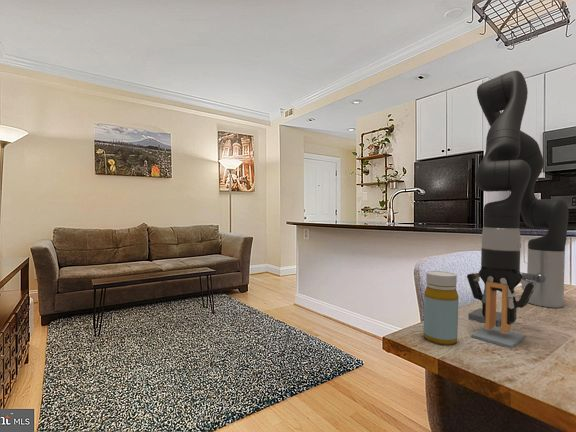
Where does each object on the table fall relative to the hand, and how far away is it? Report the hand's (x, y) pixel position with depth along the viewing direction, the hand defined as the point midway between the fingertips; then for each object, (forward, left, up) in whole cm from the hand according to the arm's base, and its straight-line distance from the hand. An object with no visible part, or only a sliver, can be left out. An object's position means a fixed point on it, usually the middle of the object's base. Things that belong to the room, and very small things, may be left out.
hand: (498, 320), depth 75 cm
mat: (0, 0, -4) cm, 4 cm away
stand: (-12, -2, -4) cm, 13 cm away
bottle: (+12, -8, -4) cm, 15 cm away
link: (0, 0, -2) cm, 2 cm away
